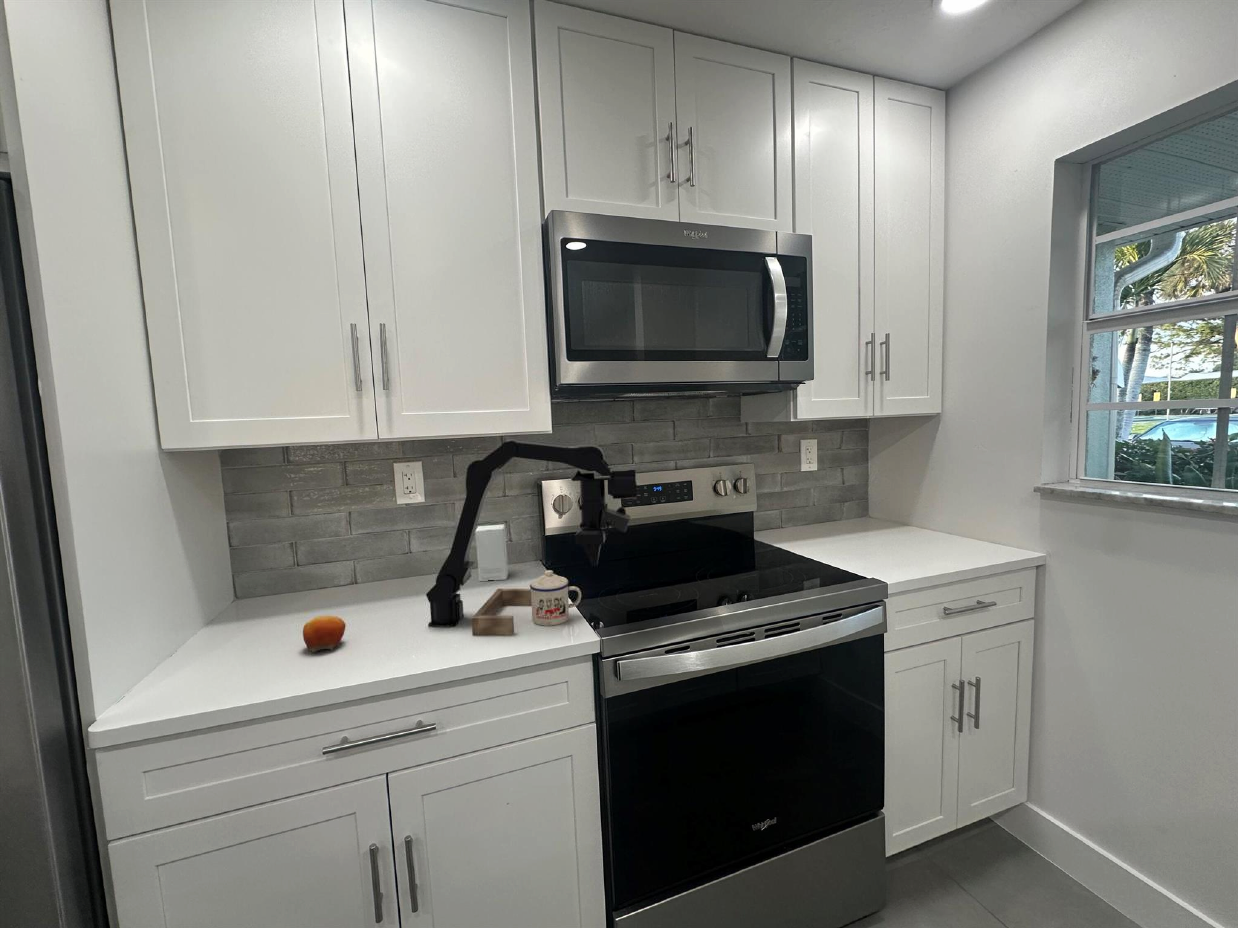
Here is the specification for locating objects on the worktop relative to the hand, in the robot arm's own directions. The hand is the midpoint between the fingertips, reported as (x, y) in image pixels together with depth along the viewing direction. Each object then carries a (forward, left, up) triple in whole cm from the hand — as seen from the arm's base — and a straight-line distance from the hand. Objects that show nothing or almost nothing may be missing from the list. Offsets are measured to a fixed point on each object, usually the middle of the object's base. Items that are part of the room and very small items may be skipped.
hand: (594, 565), depth 127 cm
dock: (-22, 0, -13) cm, 25 cm away
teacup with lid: (-9, 0, -13) cm, 16 cm away
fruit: (-56, -16, -13) cm, 60 cm away
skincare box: (-34, +32, -13) cm, 49 cm away
